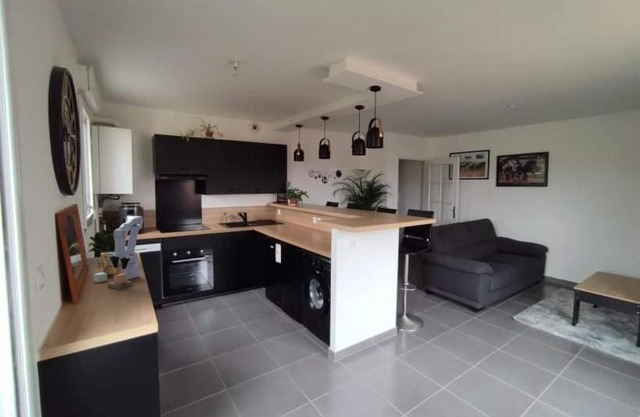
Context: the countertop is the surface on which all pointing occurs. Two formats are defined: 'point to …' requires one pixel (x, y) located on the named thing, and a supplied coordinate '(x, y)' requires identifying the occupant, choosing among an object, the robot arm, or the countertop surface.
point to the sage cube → (100, 277)
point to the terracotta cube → (120, 278)
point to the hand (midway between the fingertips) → (119, 268)
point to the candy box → (107, 264)
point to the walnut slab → (119, 285)
